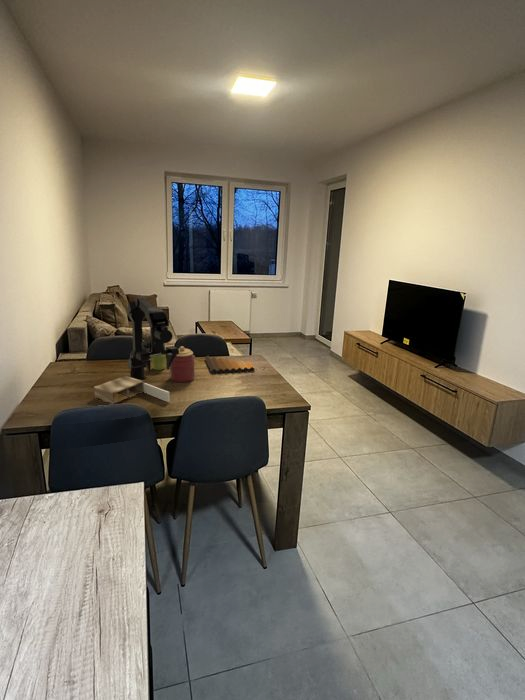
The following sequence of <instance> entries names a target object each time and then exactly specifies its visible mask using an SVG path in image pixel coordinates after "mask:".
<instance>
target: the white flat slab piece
mask: <svg viewBox="0 0 525 700" xmlns="http://www.w3.org/2000/svg"><path fill="white" fill-rule="evenodd" d="M143 392H144V393H143V394H146V393H147V394H146V395H150V396H152V397H155V398H157V399H159V400H162V401H164V402H167V403H169V402H170V399H171V398H170V391H169V390H165V389H163V388H159V387H157V386H155V385H152V384H149V383H146V382H145V381H143Z"/></svg>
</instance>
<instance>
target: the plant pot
mask: <svg viewBox="0 0 525 700" xmlns="http://www.w3.org/2000/svg"><path fill="white" fill-rule="evenodd" d="M155 354H156V353H155ZM150 359H151V362H152V363H151V364H152V368H153V370H156V371H162V369H163V370H164V369H165V368H166V354H162V355H156V356H151V357H150Z"/></svg>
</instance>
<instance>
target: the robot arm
mask: <svg viewBox="0 0 525 700" xmlns="http://www.w3.org/2000/svg"><path fill="white" fill-rule="evenodd" d="M126 312H127V314H128V318H129V319H130V320H131V324H132V325H131V326H132V330H131V331H132V350H131V352H130V353H129V358H128V361H127V364H126V365H127V368H128V369H129V370H130V372H129V373H130V377H131V378H135V379H138V380H141V381H143V380H145V379H147V376H145V368H146V370H147V373H148V374H151V370H152V369H151V366H152V365H151V364H152V363H151V362H152V360H151V356H156V355H162V354H166V360H165V367H166V370H169V371H170V365H171V363H172V361H173V360H174V358H175V357H176V356H177V355H178V354H179V348H178V347H177V346H173V345H171V346H167V347H165V344H169V343H170V342H171V341H172V340H173V333H172V331H170V329H169V327H170V321H169V319H168V318H169V317H167V314H166V312H165V311H164V309H161V308H160V307H159V308H157V307H155V306H154V305H153V304H152V303H151V302H150V301H148V298H147V297H138V298H135V299H134V300H133V301H131V302H130V303H128V305H127V307H126ZM145 317H146V320H147V323H148V327H150V328H149V330H150V334H149V335H150V339H149V341H148V342H147V341H143V338H144V337H143V321H144V319H145ZM145 350H146V351H145ZM155 353H156V354H155ZM142 379H143V380H142Z"/></svg>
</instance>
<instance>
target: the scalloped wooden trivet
mask: <svg viewBox="0 0 525 700" xmlns="http://www.w3.org/2000/svg"><path fill="white" fill-rule="evenodd" d="M204 359H205V362H206V363H207V366H208V368H210V369H209V371H210V373H211V374H212V375H214V374H215V375H216V374H223V373H224V374H229V373H232V374H233V373H235V372H236V373H248V372H249V371H254V372H255V369H256V368H255V366H254V365H252V363H251V362H249V361H246V362H244V361H243V360H240V361H238V360H236V359H233V360H230V359H229V358H228V357H227V358H225V359H224V358H222V357H219V358H217V357H216V356H213V357H211V356H209V355H206V356H205V357H204ZM242 370H243V371H242ZM247 371H248V372H247Z"/></svg>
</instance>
